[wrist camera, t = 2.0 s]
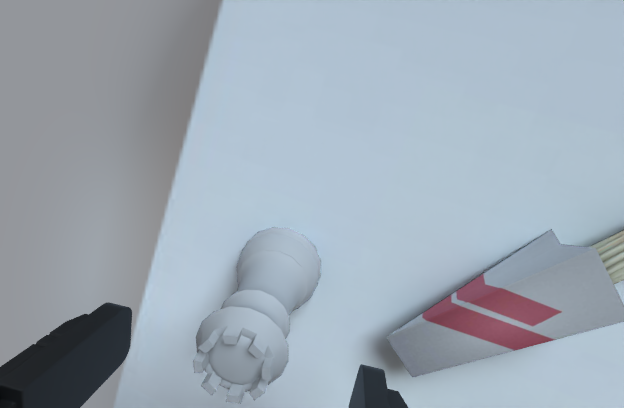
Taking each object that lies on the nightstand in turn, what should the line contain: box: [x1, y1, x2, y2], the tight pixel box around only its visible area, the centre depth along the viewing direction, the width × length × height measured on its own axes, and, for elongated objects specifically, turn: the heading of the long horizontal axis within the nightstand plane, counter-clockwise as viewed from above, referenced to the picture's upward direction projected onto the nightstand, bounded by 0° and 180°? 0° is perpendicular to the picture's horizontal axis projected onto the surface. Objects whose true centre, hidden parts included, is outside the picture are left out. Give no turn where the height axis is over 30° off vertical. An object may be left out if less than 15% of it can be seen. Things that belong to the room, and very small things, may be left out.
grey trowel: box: [386, 229, 624, 377], centre depth 14 cm, size 4×3×20 cm
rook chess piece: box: [193, 227, 321, 404], centre depth 14 cm, size 4×4×8 cm
